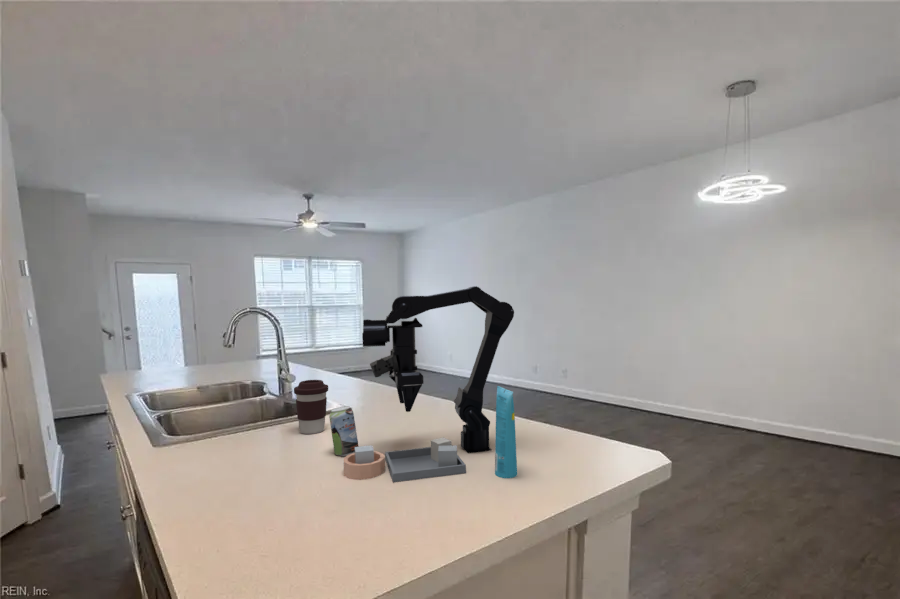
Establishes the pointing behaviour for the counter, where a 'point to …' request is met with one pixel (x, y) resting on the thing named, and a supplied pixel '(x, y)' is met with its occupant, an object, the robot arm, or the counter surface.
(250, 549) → the counter surface
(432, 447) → the stone
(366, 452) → the stone
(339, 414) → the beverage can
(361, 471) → the bowl
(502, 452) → the tube
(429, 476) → the tray
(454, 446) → the stone
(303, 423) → the coffee cup
